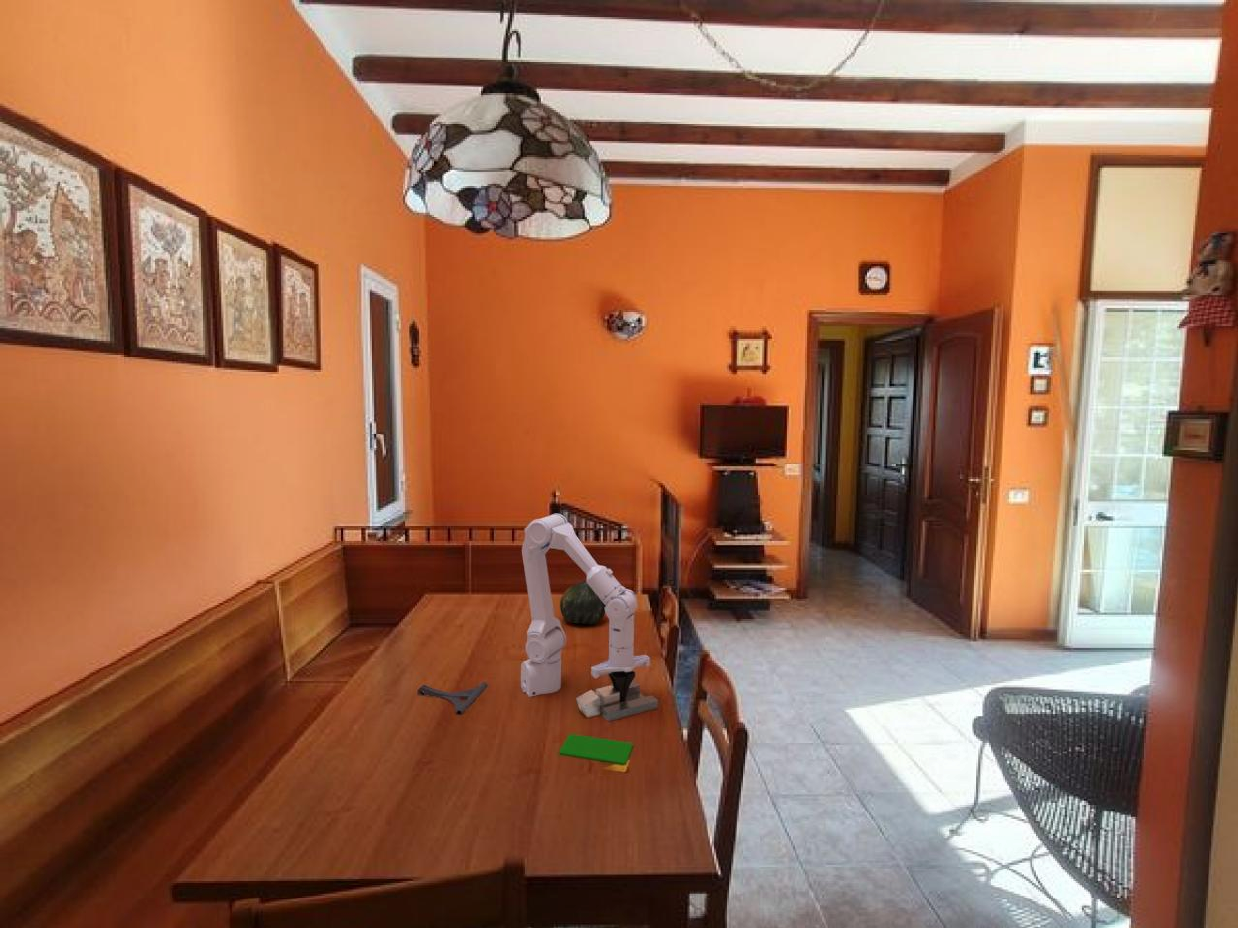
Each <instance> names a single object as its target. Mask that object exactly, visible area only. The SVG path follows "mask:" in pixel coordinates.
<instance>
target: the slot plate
mask: <svg viewBox="0 0 1238 928" xmlns="http://www.w3.org/2000/svg"><path fill="white" fill-rule="evenodd" d="M612 686H613V685H612ZM613 687H614V686H613ZM592 691H593V692H594V693H595V694H596V689H595V690H592ZM658 708H659V700H658V699H657V698H656V697H655V696H653V695H652V694H651V695H647V696H644V695H643V694H642V693H641V685H640V684H639V683H637V681H635V680H633V681H632V682H631V684H630V686H629V689H628V692H627V695H626V699H625V702H620V704H616V705H612V706H608V707H604V708H602V713H601V714H600V715H601V716H602V717H603V718H604V719H605V720H606V721H607V722H611V721H615V720H618V719H622V718H626V717H631V716H634V715H637V714H642V713H645V712H649V711H651V710H652V711H653V710H655V709H658Z"/></svg>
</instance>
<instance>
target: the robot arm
mask: <svg viewBox="0 0 1238 928" xmlns="http://www.w3.org/2000/svg"><path fill="white" fill-rule="evenodd" d="M523 531H524V539H523V543H522V548H521V557H522V561H523V563H522V564H523V567H524V568H523V569H524V575H525V582H526V589H527V595H528V601H529V610H530V617H531V622H530V625H529V628H528V629H527V631H526V638H527V639H526V643H525V652H526V655H527V657H528V658H529V659H527V660H524V661H522V662H521V664H520V687H521V689H522V691H523V693H526V695H527V696H528V697H529V698H530V697H534V696H538V695H549V694H553V693H556V692H558V691H559V690H560V689H561V687H562V678H561V677H562V649H563V648H564V647H565V645H566V643H567V636H566V633H565V631H564V630H563V627H562V625H561V624H562V623H561V621H560V619H558V618H557V617H555V613H554V607H553V606H554V605H553V600H552V592H551V587H550V586H551V585H550V579H549V572H548V571H549V570H548V564H547V558H546V554H547V552H548V551H549V550H550V549H554V550H561V551H564V552H565V553H566V554H567V556H569V558H570V559H571V560H572V561H573V562H574V563H575V564H576V565H577V566H578V567H579V568H580V569H581V571H583V573H584V574H585V575H586V580H585V581H587V584H588V585H589V586H590V587H591V588H592V590H593V591H594V592H595V593H596V595H597V596H598V597H599V598H600V599H601V601H602V602H603V603H604V604H605V605H606V607H605V615H606V617H607V618H608V620H609V623H608V624H609V625H608V629H609V631H608V633H609V634H608V660H606V661H603V662H601V663H599V664H597V665H593V666H591V667H590V668H591V669H590V671H591V672H590V675H591V677H593V678H594V679H598V678H600V677H601V676H605V675H608V677H609V680H610V681H611V684H612V686H614V688H615V689H616V690H617V691H618V692H620V702H625V699H626V695H627V692H628V689H629V686H630V684H631V682H632V681H634V679H635V678H636V671H635V670H634V668H635V669H636V668H639V667H642V666H645V667H650V666H651V658H650V656H649V655H646V654H642V655H634V654H635V653H634V650H635V649H634V644H635V641H634V640H635V614H634V613H635V612H636V610H637V609H638V608H639V607H638V605H639V600H638V597H637V596H636V594H635V592H634V591H633V590H631V589H627V588H626V587H625V586H623V585H622V584H621V583H620V582H619V581H618V580H617V579H616V577H615V576H614V575H613V573H614V572H613V570H612V569H611V568H607V566H605V565H600V564H598V563H597V562H596V560H595V559H594V558H593V557H592V555H591V554H590V552H589V551H588V550H587V548H586V547H585V546H584V544H583V543H582V541H581V540H580V539H579V538H578V536H577V535H576V533H575V530H574V527H573V525H572V524H571V523H570V522H568V520H567V518H566V517H565V516H564V515H562V514H561V513H553V514H550V515H548V516H544V517H542V518H536V519H533V520H532V521H531V522H529V524H528V525H527V526H526V527H525V528H524V530H523Z"/></svg>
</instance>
